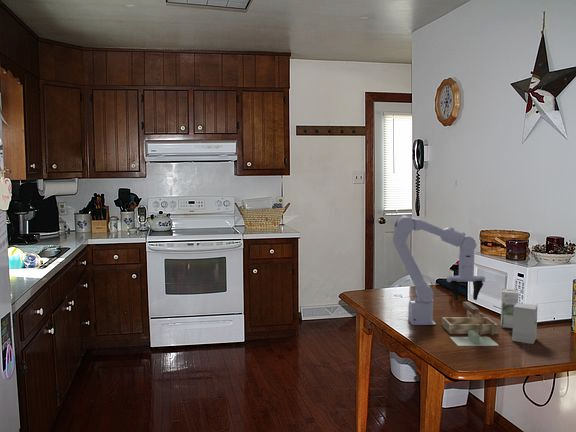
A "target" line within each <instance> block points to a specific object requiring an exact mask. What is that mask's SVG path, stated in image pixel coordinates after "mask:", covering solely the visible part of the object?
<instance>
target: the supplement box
mask: <svg viewBox="0 0 576 432" xmlns="http://www.w3.org/2000/svg"><path fill="white" fill-rule="evenodd" d="M538 306H539V305H538V304H537V305H536V304H529V303H523V302H522V303H521V302H518V303H516V305H515V306H514V311H513V329H512V335H511V337H512V338H511V341H513V342H519V343H524V344H532V345H534V343H535V341H536V339H537V329H538V328H537V327H538V326H537V325H538V309H539V307H538Z"/></svg>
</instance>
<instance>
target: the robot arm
mask: <svg viewBox="0 0 576 432" xmlns="http://www.w3.org/2000/svg"><path fill="white" fill-rule="evenodd" d="M413 230H414V231H415V232H417V231H421V230H422V231H425V232H426V233H430V234H433V235H435V236H437V237H440V241H442V242H444V243H447V244H449V245H452V246H454V247H456V248H458V247H459V254H458V275H451V276H449V275H447V276H446V281H447V282H448V283H449V285H450V288H451V290H452V294H453V299H454V301H458V298H459V295H458V294H459V293H458V292H459V285H460V284H459V283H460V282H463V283H465V282H467V283H469V282H471V283H472V286H473V293H472V299H473V300H474V301H477V300H478V296H479V294H480V291H481V289H482V288H483V286H484V283H486V277H485V276H484V275H482V276H481V275H474V274H475V249H476V247H477V246H478V244H477V242H476V240H475V239H474V237H472V236H470V235H468V234H466V232H460V231H457V230H455V228H453V227H452V226H451V227H445V228H441V227H439V226H436V225H434V224H432V223H429V222H427V221H426V220H423V219H421V218H417V217H413V216H409V215H406V214H405V215H404V214H402V215H400V216H398V218H397V219H396V221H395V222H394V227H393V233H392V234H393V235H392V243H393V245H394V247H395V249H396V251H397V253H398V255H399V257H400V259H401V261H402V263H403V265H404V267H405V269H406V271H407V273H408V276H409V277H410V279H411V282H412V283H413V285H414V292H415V295H416V297H415V298H414V300H409V302H408V308H407V309H408V312H407V313H408V315H407V317H408V318H407V320H408V321H409V323H410V324H411V325H412V326H434V325H437V324H436V322H435V320H434V295H435V293H434V291H433V289H432V288H431V286H430V285H429V283H427V282H426V280H425V278H424V276H423V274H422V273H421V271H420V269H419V267H418V264H417V262H416V260H415V259H414V256H413V254H412V253H411V251H410V248H409V246H408V245H407V243H406V241H407V240H408V237H409V235H410V234H411V233H412V232H413ZM458 282H459V283H458Z"/></svg>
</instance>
